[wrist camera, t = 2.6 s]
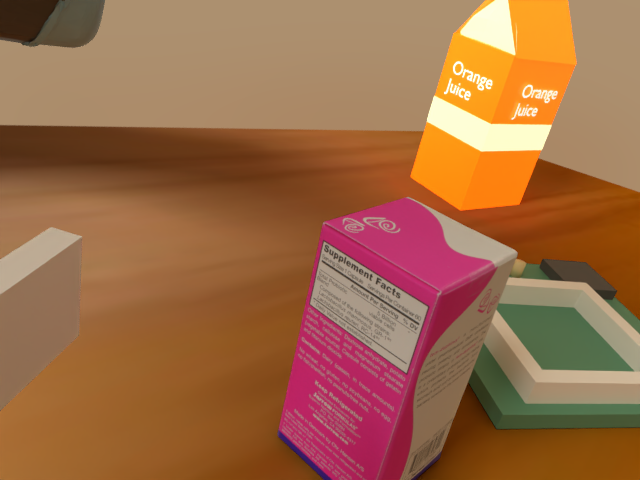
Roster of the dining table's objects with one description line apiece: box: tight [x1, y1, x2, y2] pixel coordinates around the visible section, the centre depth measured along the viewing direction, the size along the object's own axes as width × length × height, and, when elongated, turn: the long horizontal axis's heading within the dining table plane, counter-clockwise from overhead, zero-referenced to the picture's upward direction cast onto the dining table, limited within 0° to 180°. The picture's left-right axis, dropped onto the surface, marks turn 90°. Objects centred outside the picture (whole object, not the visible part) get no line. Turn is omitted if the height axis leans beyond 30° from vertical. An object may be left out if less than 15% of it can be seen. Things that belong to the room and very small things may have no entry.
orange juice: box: [410, 0, 576, 210], centre depth 58 cm, size 8×9×20 cm
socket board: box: [468, 259, 640, 429], centre depth 40 cm, size 16×16×2 cm
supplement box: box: [278, 197, 517, 480], centre depth 26 cm, size 6×6×12 cm
